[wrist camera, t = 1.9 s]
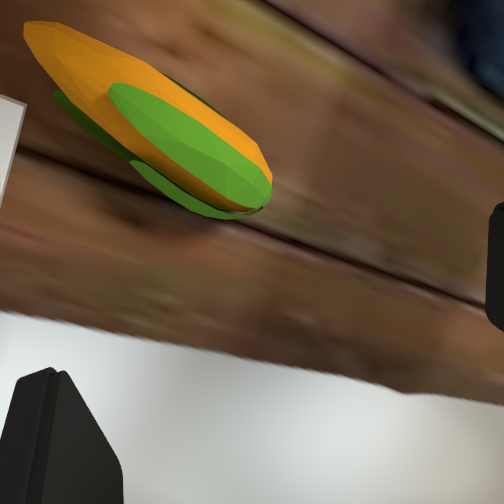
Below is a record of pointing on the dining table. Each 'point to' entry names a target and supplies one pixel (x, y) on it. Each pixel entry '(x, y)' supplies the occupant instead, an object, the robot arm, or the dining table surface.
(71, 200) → the dining table surface
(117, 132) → the corn
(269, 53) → the dining table surface
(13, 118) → the white flat block
